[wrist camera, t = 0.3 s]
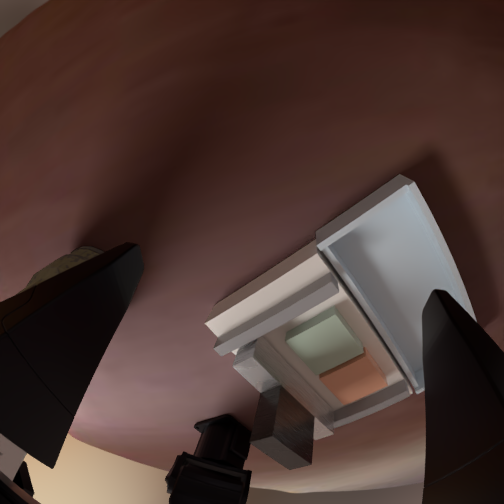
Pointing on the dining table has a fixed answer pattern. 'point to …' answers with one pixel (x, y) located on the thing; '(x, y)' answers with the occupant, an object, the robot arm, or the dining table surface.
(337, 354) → the sage tile
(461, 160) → the dining table surface
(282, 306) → the white shallow box
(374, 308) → the tray
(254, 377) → the grey panel
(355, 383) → the terracotta tile
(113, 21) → the dining table surface
